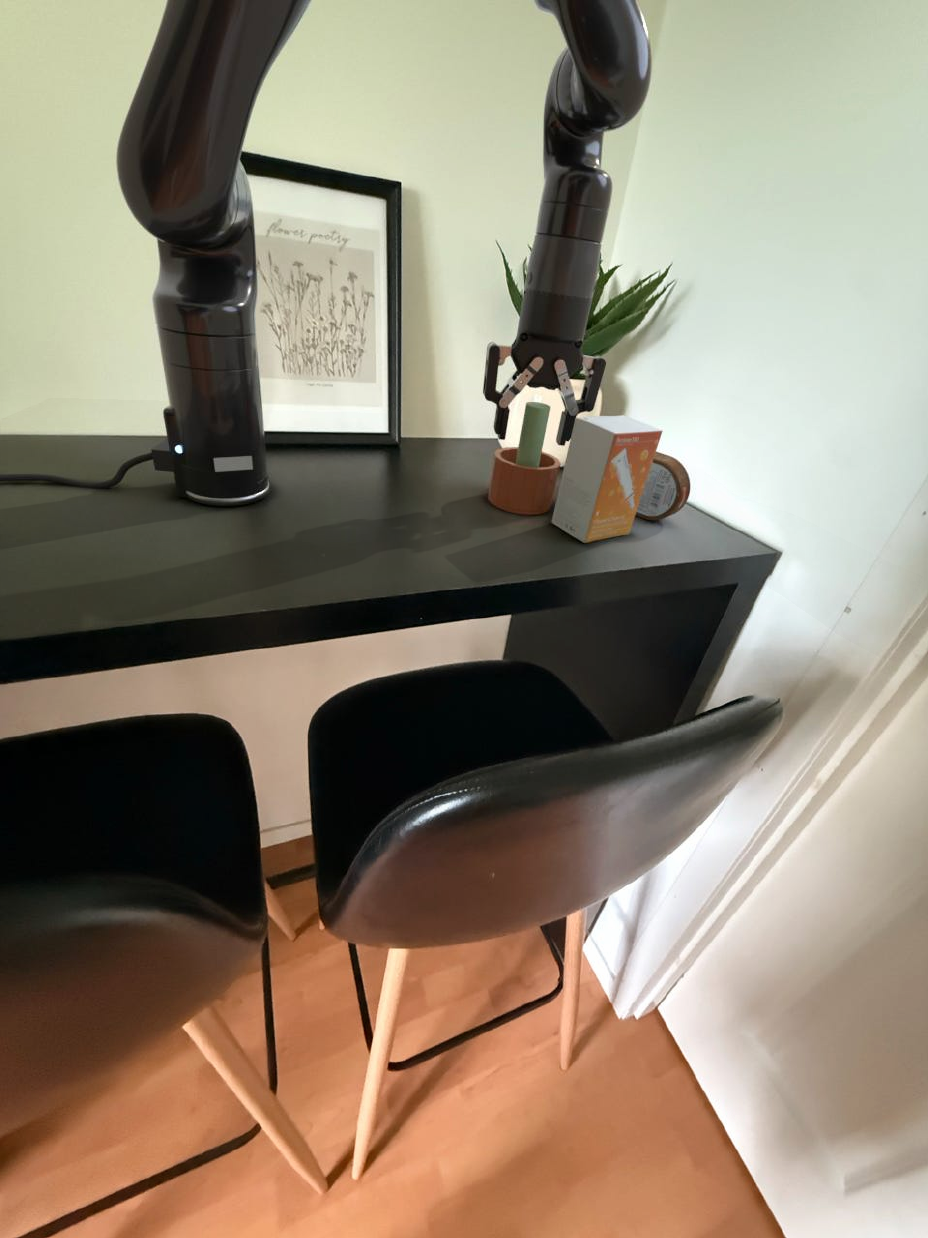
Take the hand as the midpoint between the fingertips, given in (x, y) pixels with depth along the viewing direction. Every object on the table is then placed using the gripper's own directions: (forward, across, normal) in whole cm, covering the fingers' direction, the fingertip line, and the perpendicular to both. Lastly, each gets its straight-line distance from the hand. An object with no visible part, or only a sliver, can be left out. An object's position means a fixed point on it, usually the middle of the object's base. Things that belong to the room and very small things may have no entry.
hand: (530, 440), depth 69 cm
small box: (+8, -8, +7) cm, 14 cm away
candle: (+8, 0, 0) cm, 8 cm away
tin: (+8, -15, -1) cm, 17 cm away
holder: (+8, 0, 0) cm, 8 cm away
